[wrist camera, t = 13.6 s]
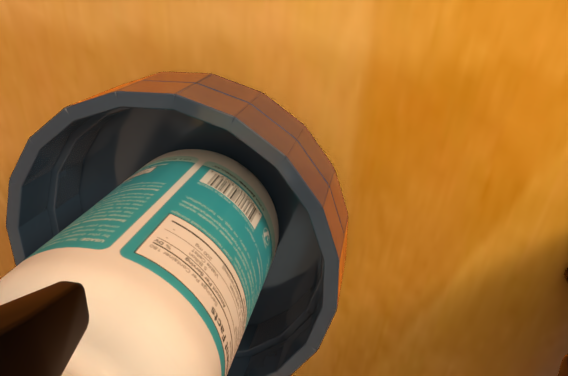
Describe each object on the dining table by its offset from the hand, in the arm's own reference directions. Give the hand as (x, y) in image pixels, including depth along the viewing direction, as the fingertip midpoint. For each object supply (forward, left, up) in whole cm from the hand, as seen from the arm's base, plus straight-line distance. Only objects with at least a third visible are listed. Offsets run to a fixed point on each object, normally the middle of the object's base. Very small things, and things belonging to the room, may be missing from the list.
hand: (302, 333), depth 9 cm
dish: (+3, +8, -13) cm, 16 cm away
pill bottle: (+3, +7, -13) cm, 15 cm away
